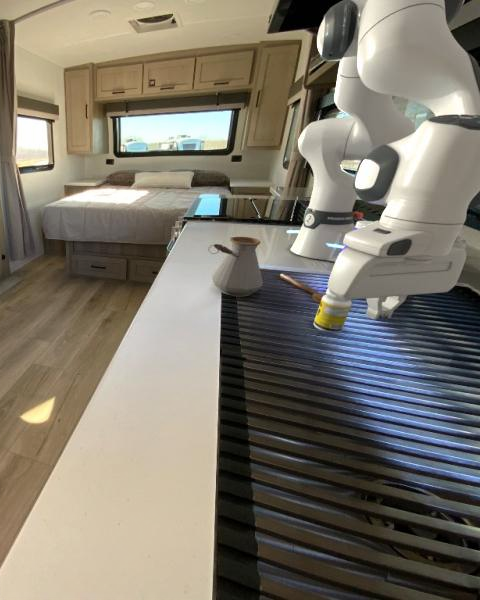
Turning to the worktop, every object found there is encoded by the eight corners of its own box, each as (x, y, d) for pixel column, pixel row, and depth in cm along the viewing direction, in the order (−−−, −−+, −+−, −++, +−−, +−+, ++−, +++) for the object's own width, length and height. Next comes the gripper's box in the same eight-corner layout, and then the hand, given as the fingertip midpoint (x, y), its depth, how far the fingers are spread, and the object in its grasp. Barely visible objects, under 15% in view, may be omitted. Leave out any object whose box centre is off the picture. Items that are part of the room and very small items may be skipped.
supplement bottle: (317, 319, 69) (330, 282, 65) (344, 328, 66) (360, 289, 62) (309, 327, 66) (322, 288, 62) (336, 336, 63) (352, 297, 59)
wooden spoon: (272, 277, 90) (273, 273, 89) (287, 276, 90) (288, 272, 90) (322, 305, 75) (323, 300, 74) (339, 303, 75) (341, 299, 75)
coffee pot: (223, 277, 90) (234, 222, 83) (267, 290, 82) (283, 230, 75) (179, 302, 77) (188, 239, 70) (227, 319, 69) (242, 251, 63)
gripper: (447, 229, 54) (410, 304, 60) (335, 234, 51) (309, 313, 57) (496, 239, 48) (450, 321, 54) (373, 246, 46) (340, 331, 52)
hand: (377, 317), depth 56 cm, fingers closed
